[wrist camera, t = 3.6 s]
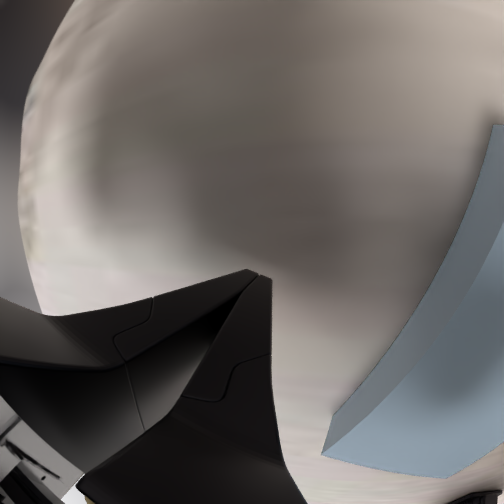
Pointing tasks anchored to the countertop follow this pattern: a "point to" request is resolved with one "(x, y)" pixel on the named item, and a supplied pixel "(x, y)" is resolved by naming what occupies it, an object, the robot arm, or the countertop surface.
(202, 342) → the robot arm
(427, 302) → the light blue block
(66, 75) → the countertop surface
